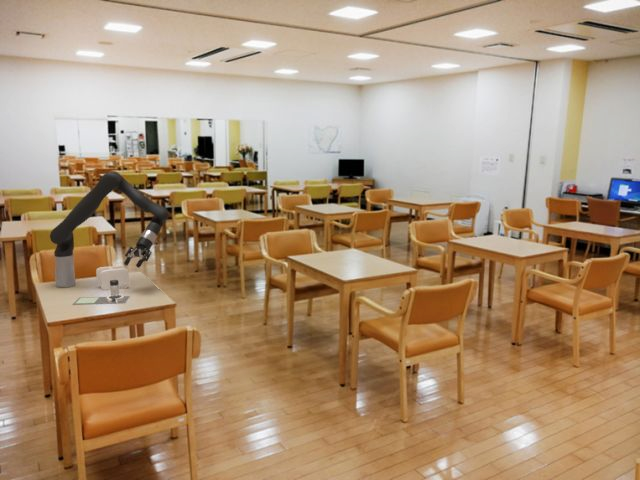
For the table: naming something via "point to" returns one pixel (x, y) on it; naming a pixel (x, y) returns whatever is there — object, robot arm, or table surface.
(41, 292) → the table surface
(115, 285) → the clear glass bottle
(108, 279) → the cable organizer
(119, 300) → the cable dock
